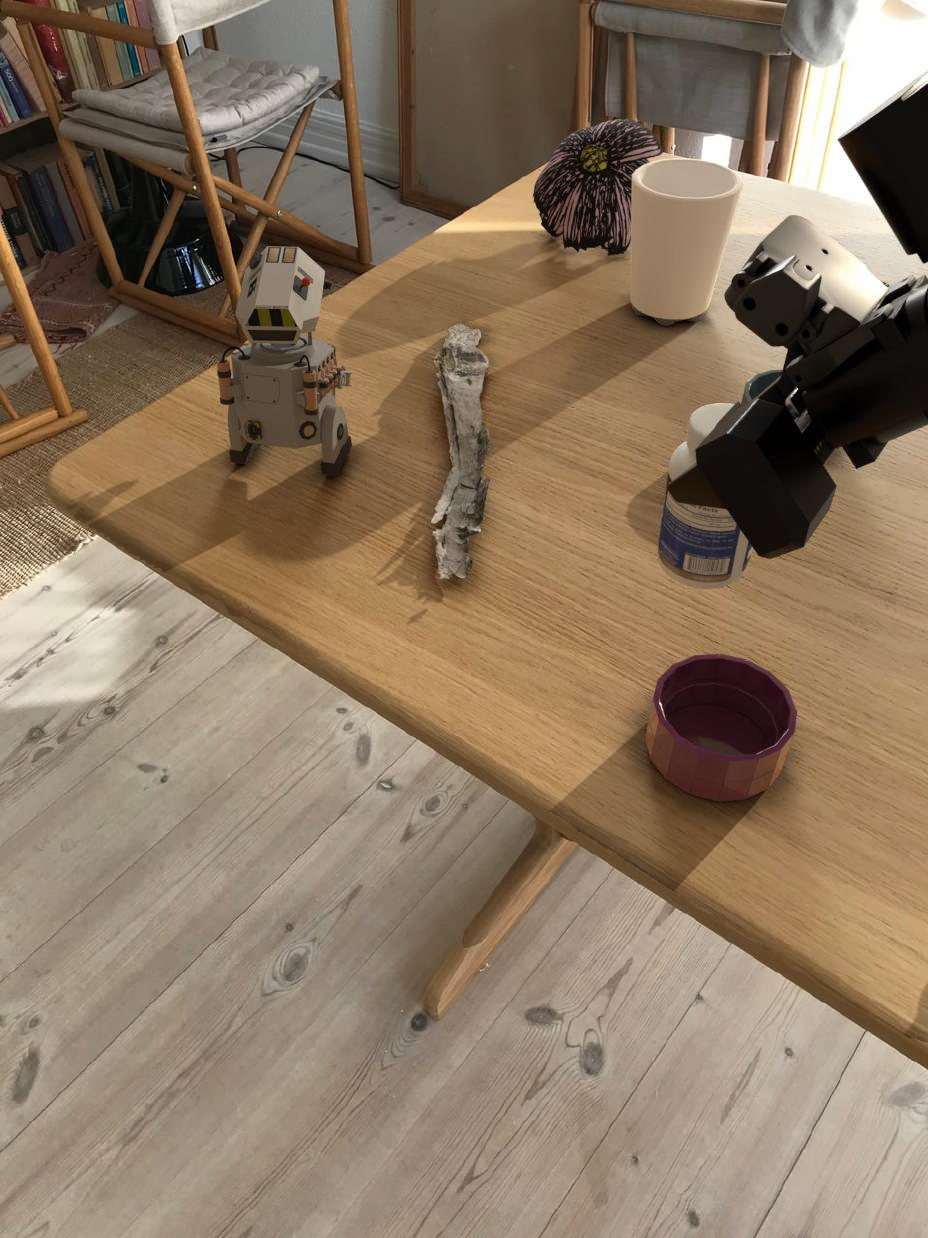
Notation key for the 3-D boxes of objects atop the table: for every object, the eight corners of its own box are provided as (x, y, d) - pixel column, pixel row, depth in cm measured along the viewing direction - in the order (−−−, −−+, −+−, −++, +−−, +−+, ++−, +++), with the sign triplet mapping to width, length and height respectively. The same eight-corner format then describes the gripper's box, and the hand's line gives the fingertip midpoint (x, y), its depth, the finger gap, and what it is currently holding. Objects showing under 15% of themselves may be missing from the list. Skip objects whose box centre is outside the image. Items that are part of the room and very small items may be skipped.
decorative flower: (502, 146, 104) (599, 70, 108) (500, 228, 115) (589, 157, 119) (607, 222, 100) (704, 141, 104) (595, 300, 111) (683, 224, 115)
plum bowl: (787, 715, 62) (802, 671, 59) (774, 819, 57) (790, 776, 54) (658, 685, 64) (667, 641, 61) (633, 783, 58) (642, 740, 56)
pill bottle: (699, 522, 62) (724, 384, 56) (766, 566, 59) (801, 426, 53) (636, 557, 60) (654, 417, 53) (702, 605, 57) (730, 463, 50)
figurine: (373, 412, 86) (359, 242, 76) (330, 492, 78) (308, 314, 68) (273, 400, 88) (246, 231, 77) (221, 476, 80) (183, 300, 69)
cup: (722, 292, 102) (746, 162, 93) (715, 339, 95) (740, 204, 86) (624, 281, 103) (638, 153, 94) (610, 327, 97) (624, 193, 88)
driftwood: (492, 328, 97) (440, 333, 97) (489, 303, 95) (437, 308, 96) (492, 581, 70) (422, 586, 71) (489, 554, 69) (417, 559, 69)
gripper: (932, 114, 48) (688, 281, 60) (782, 261, 37) (520, 428, 49) (1046, 311, 50) (787, 433, 62) (936, 505, 39) (649, 606, 51)
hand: (695, 467), depth 56 cm, fingers closed on pill bottle, 5 cm apart
